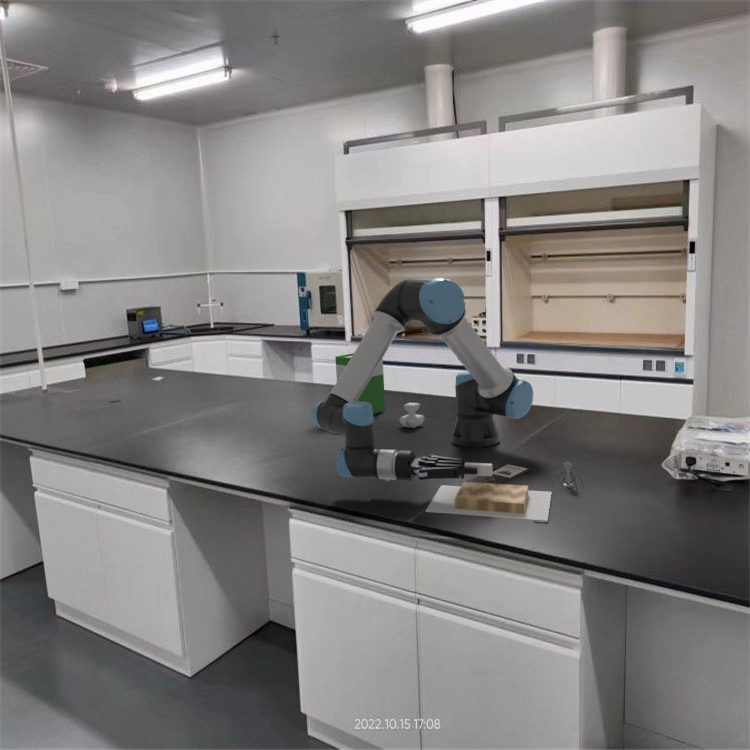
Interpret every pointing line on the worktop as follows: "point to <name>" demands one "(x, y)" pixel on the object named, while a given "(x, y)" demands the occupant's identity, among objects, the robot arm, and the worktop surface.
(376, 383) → the hardback book
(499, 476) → the chocolate bar
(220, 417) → the worktop surface
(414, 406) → the stamp
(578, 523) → the worktop surface
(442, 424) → the worktop surface
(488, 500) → the plaque
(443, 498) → the mat
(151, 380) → the worktop surface
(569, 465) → the bacteriophage
